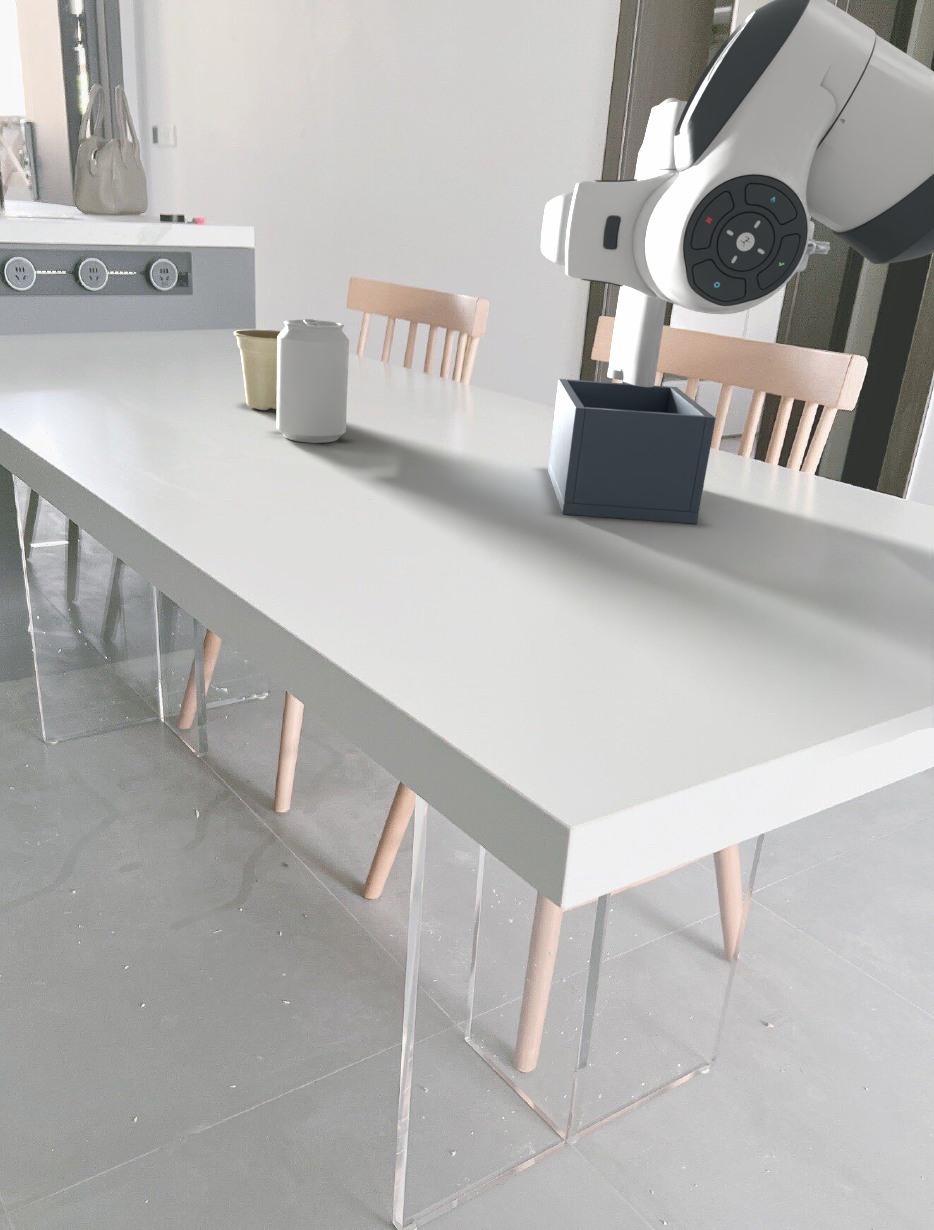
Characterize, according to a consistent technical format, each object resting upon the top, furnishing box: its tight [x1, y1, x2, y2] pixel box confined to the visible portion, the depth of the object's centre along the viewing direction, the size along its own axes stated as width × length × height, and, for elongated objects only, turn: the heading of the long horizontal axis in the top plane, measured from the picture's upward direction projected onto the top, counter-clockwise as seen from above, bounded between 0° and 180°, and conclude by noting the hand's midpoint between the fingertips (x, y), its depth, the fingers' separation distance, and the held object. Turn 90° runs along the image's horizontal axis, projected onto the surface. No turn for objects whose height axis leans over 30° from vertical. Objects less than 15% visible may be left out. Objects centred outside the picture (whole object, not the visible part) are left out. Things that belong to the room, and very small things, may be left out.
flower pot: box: [233, 329, 283, 411], centre depth 129 cm, size 9×9×9 cm
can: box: [276, 318, 350, 444], centre depth 113 cm, size 8×8×12 cm
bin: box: [547, 378, 717, 525], centre depth 98 cm, size 12×18×9 cm, turn 177°
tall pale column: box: [606, 97, 688, 387], centre depth 90 cm, size 11×4×22 cm, turn 6°
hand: (658, 236), depth 88 cm, fingers closed on tall pale column, 2 cm apart
